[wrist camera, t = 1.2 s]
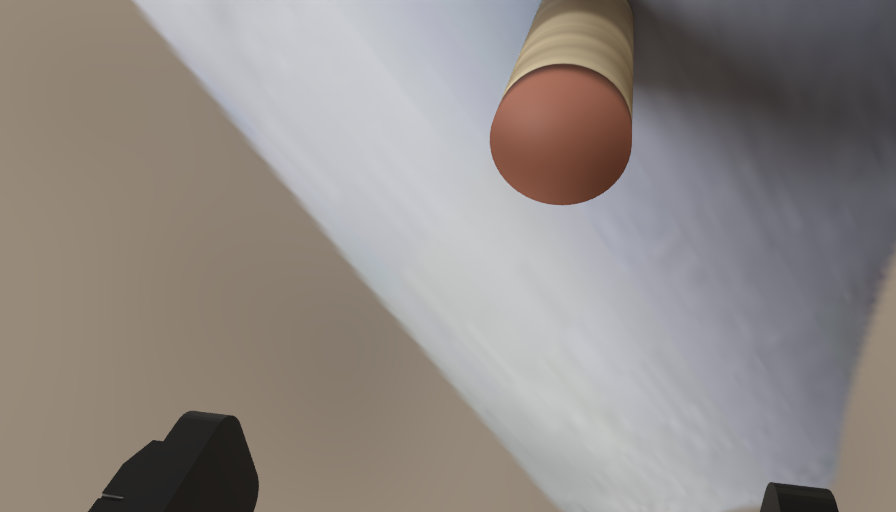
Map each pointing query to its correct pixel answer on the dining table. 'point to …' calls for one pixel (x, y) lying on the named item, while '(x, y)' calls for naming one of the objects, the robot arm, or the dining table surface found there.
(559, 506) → the dining table surface
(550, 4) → the tall dowel
